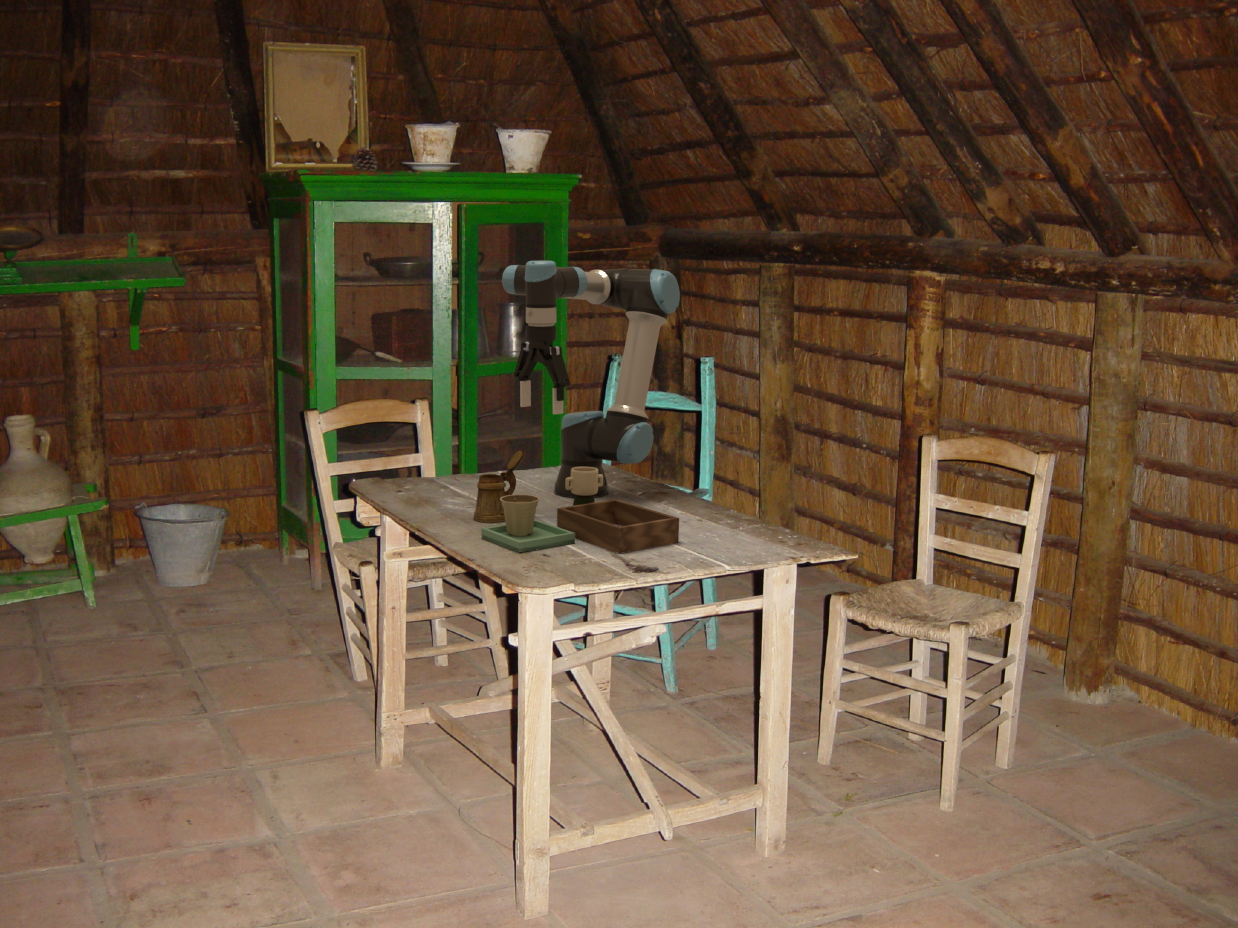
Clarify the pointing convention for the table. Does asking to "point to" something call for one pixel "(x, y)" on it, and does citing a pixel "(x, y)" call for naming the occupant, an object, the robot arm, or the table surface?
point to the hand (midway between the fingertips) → (541, 410)
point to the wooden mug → (496, 491)
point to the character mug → (584, 484)
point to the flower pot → (519, 513)
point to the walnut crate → (635, 523)
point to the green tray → (529, 537)
